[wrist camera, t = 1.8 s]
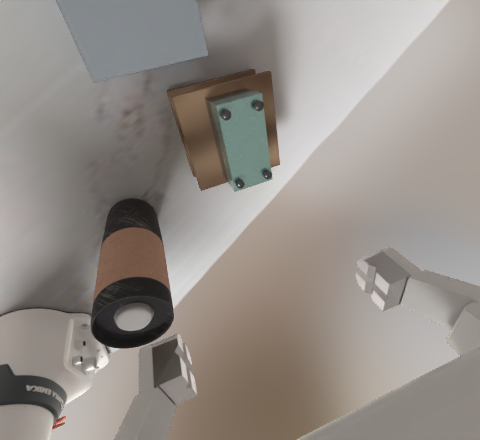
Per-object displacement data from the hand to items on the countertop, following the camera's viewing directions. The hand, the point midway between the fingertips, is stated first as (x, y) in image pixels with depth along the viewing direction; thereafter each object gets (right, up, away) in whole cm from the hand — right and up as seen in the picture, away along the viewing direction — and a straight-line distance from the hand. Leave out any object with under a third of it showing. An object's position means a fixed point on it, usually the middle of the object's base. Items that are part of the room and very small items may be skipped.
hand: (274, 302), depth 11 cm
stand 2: (-4, +17, +27) cm, 32 cm away
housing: (-2, +14, +22) cm, 27 cm away
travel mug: (-18, +4, +30) cm, 35 cm away
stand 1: (-13, +27, +17) cm, 34 cm away
